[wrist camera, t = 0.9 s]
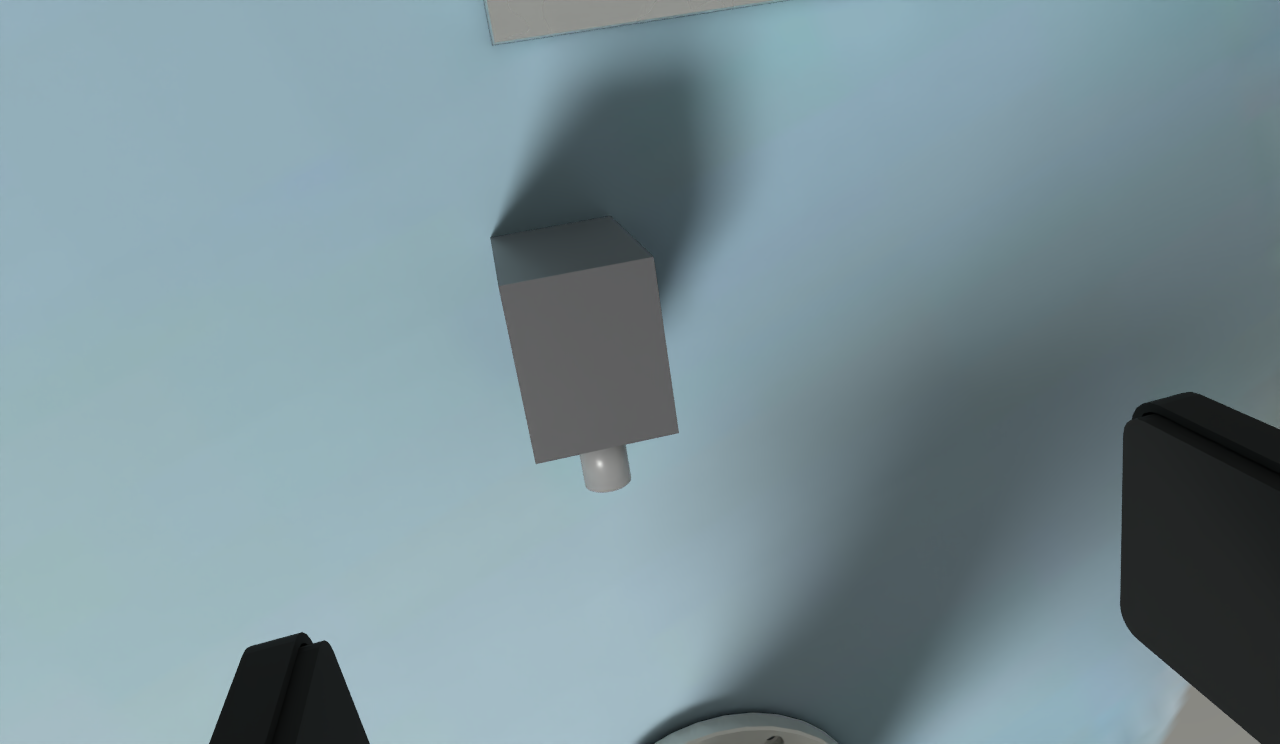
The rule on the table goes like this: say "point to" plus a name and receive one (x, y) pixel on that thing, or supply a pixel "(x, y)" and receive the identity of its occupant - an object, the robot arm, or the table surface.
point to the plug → (586, 344)
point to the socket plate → (588, 15)
